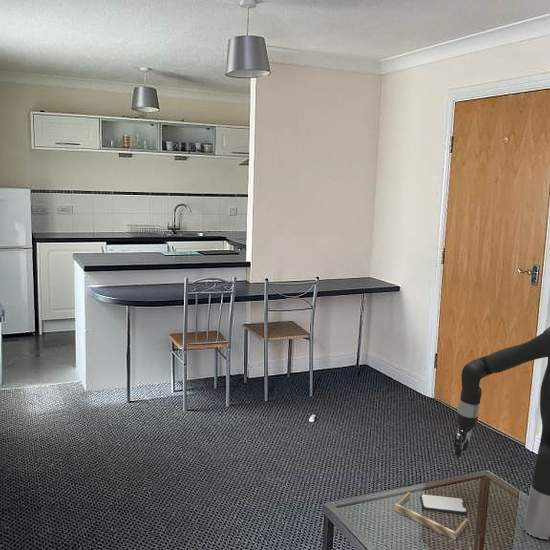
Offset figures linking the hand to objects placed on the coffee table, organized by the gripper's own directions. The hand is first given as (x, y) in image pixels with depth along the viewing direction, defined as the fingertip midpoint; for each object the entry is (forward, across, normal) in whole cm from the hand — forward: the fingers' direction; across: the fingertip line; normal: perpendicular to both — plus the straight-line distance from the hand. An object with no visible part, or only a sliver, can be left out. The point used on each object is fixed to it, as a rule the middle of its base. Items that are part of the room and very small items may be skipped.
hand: (460, 452), depth 225 cm
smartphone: (+18, -10, 0) cm, 21 cm away
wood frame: (+17, -20, 0) cm, 27 cm away
